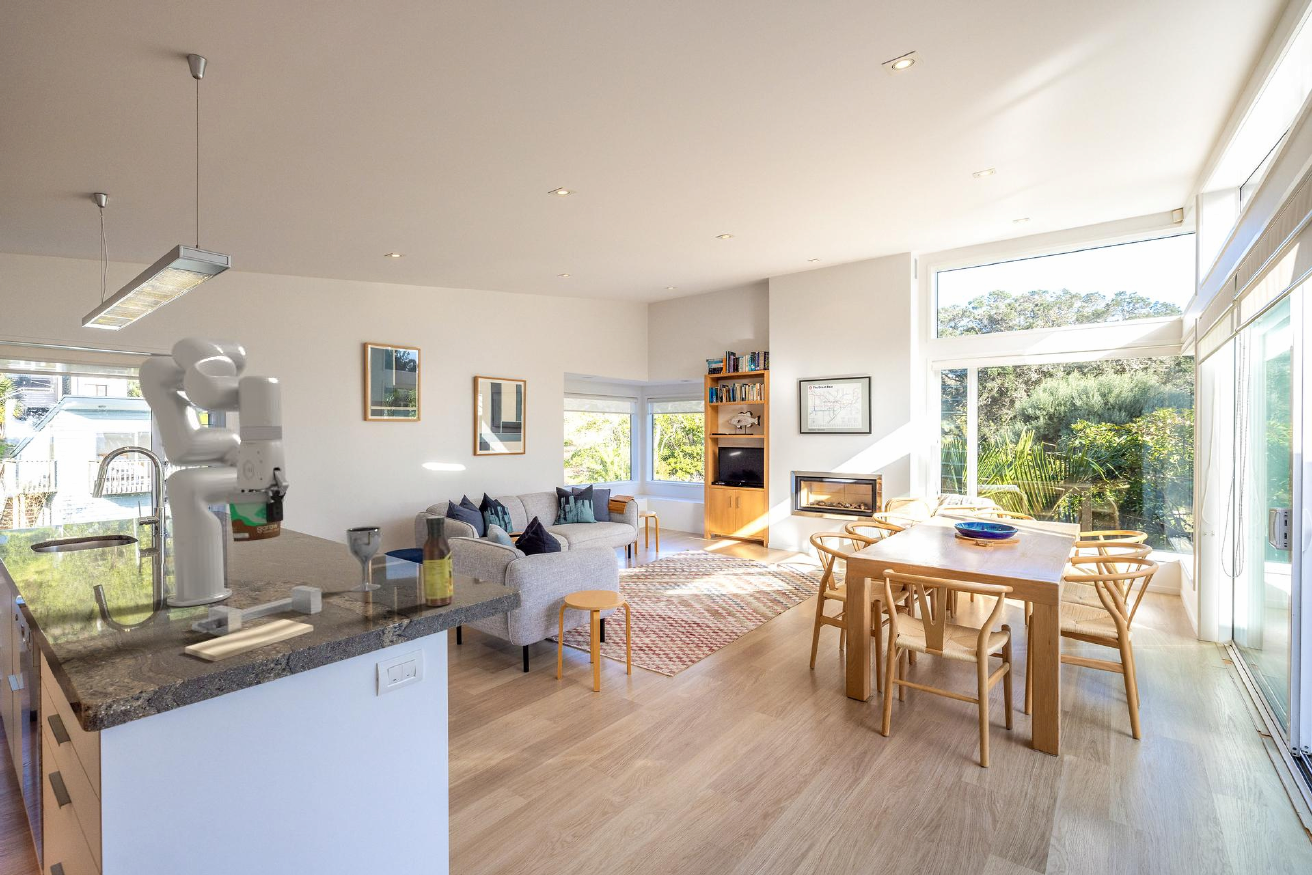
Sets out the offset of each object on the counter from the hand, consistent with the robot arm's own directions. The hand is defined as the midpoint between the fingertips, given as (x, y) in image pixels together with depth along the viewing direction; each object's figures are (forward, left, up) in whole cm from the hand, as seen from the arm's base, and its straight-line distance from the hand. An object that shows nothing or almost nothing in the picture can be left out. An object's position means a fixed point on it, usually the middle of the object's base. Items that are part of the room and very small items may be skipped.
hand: (264, 519), depth 131 cm
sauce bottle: (+23, +25, -22) cm, 40 cm away
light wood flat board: (+9, -8, -22) cm, 25 cm away
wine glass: (-5, +27, -22) cm, 35 cm away
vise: (-3, -1, -22) cm, 22 cm away
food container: (0, 0, -4) cm, 4 cm away
